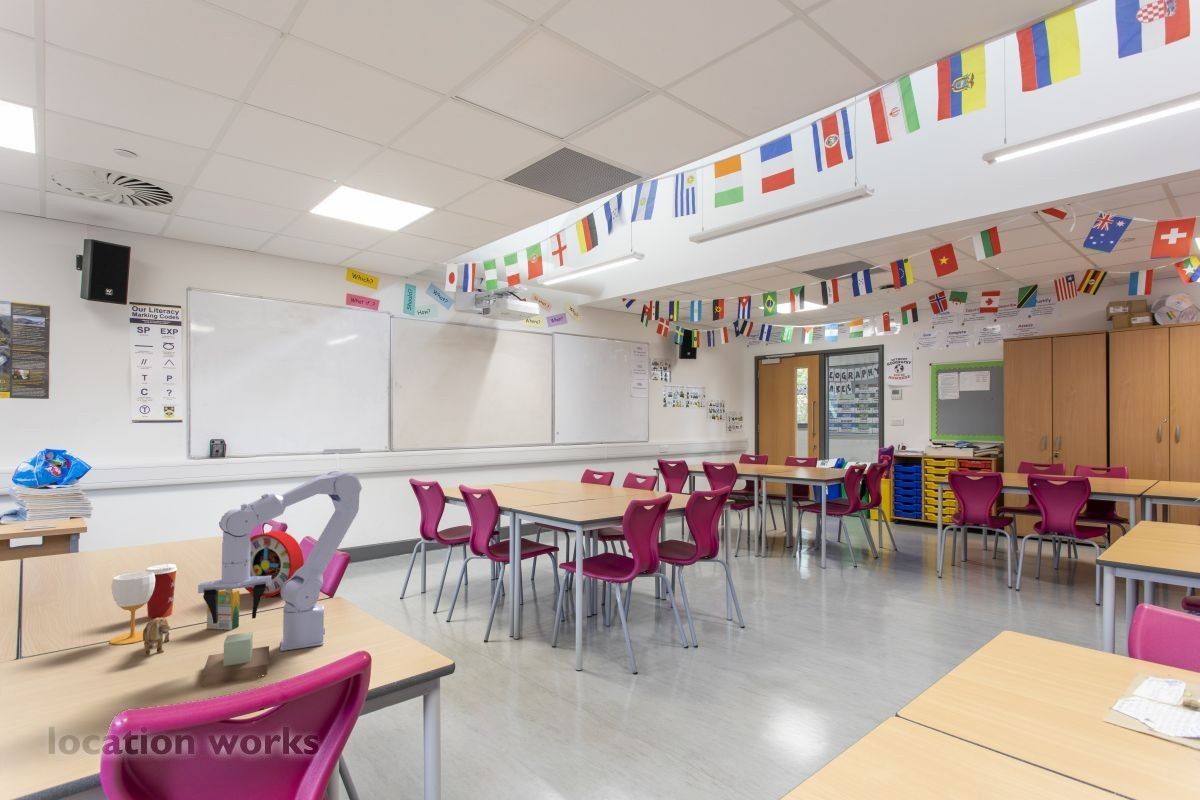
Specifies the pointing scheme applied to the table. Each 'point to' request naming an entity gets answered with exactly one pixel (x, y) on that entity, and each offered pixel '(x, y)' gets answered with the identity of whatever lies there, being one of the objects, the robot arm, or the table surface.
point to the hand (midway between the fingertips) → (235, 619)
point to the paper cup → (162, 591)
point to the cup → (132, 600)
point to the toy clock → (274, 559)
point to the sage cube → (238, 648)
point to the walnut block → (235, 668)
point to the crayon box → (225, 611)
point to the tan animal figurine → (155, 634)
